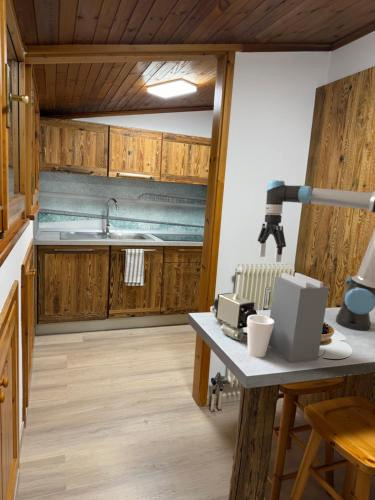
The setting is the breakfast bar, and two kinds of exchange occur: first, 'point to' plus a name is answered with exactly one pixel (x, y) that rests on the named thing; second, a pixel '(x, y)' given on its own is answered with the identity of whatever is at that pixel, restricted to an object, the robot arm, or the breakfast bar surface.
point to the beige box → (215, 314)
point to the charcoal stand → (297, 317)
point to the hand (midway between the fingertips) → (269, 259)
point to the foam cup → (259, 334)
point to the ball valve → (233, 313)
